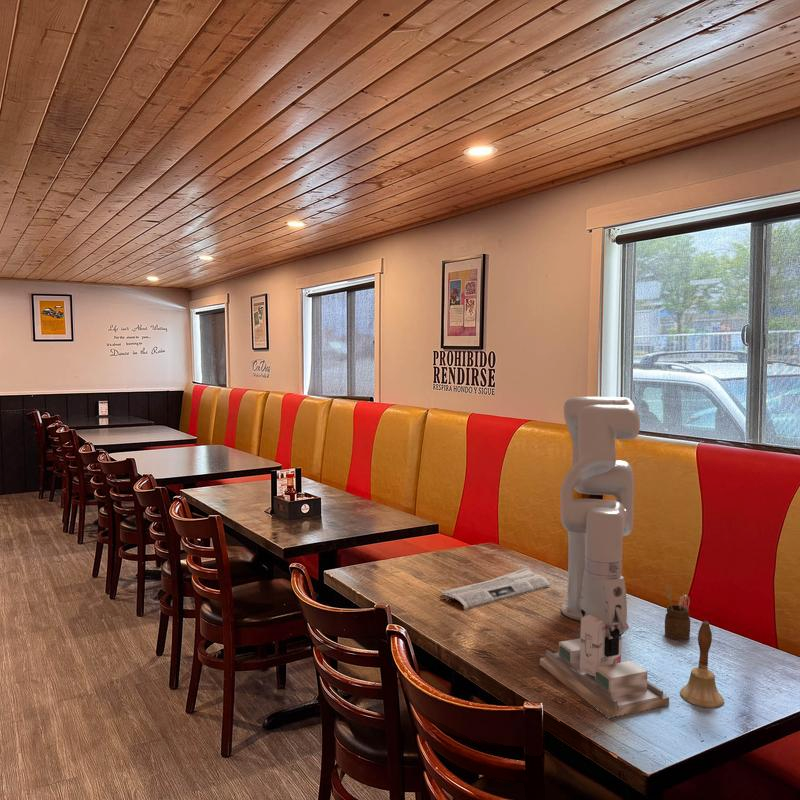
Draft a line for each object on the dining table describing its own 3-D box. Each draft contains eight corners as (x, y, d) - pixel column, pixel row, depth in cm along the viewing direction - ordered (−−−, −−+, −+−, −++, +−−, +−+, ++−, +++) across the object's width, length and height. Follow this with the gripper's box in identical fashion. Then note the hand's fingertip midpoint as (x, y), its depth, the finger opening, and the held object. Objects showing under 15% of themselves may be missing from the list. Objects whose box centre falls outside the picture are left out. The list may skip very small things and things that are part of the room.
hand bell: (711, 687, 140) (713, 614, 139) (732, 707, 132) (735, 630, 131) (672, 687, 140) (675, 614, 139) (691, 708, 131) (694, 630, 130)
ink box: (602, 659, 146) (604, 606, 145) (622, 667, 142) (623, 613, 141) (578, 670, 140) (579, 616, 140) (598, 679, 137) (599, 623, 136)
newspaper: (464, 612, 182) (464, 599, 182) (437, 598, 193) (437, 586, 192) (553, 587, 202) (553, 576, 202) (523, 576, 212) (524, 565, 212)
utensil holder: (680, 642, 162) (682, 594, 161) (658, 633, 167) (659, 587, 167) (694, 637, 165) (696, 590, 165) (672, 628, 171) (673, 583, 170)
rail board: (594, 654, 155) (595, 629, 155) (669, 704, 133) (670, 675, 132) (539, 664, 150) (540, 638, 149) (607, 718, 127) (608, 688, 127)
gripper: (645, 577, 133) (643, 663, 134) (592, 553, 149) (590, 630, 150) (615, 581, 130) (613, 669, 132) (564, 556, 147) (562, 635, 148)
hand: (601, 647), depth 141 cm, fingers closed on ink box, 6 cm apart
